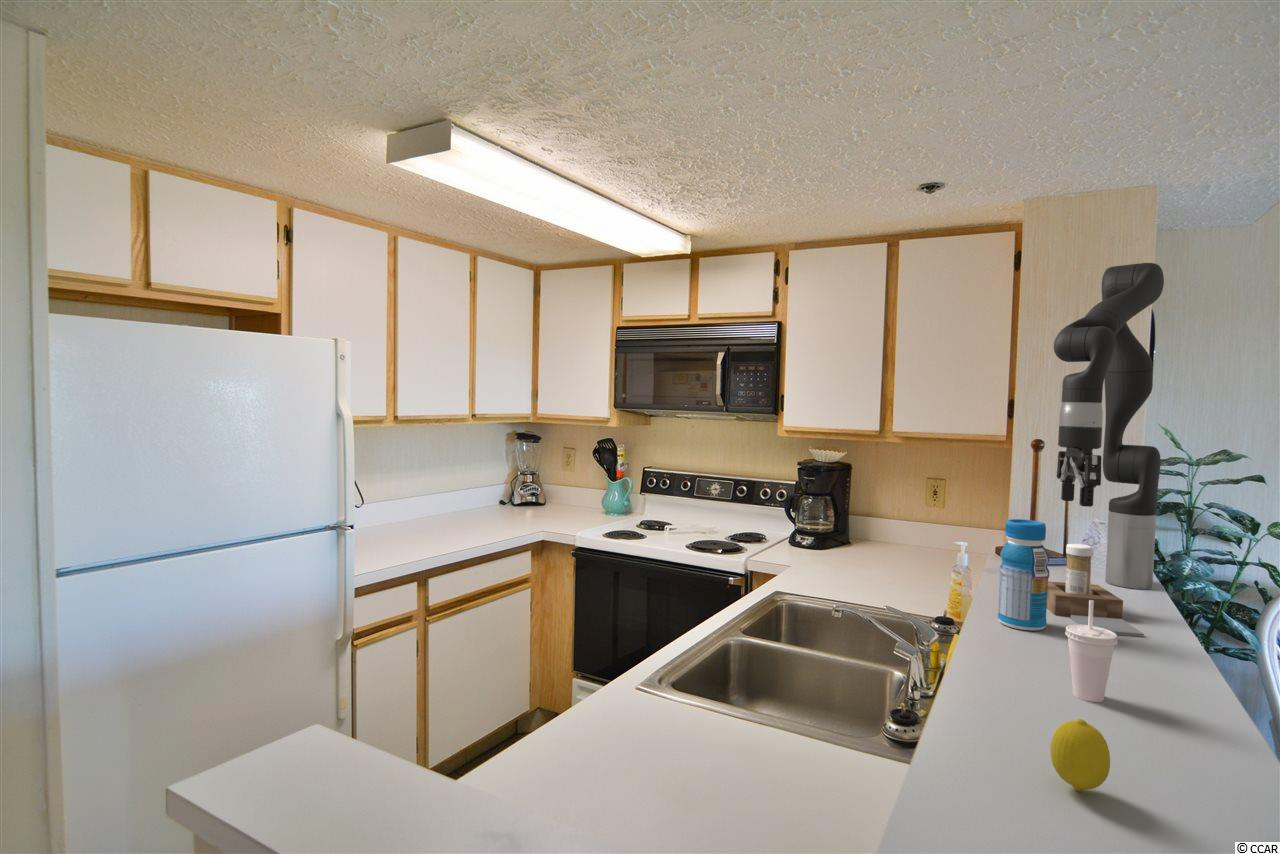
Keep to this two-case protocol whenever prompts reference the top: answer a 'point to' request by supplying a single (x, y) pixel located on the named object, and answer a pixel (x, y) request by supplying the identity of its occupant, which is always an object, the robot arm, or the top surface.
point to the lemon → (1080, 755)
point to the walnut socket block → (1083, 602)
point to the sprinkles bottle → (1078, 569)
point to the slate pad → (1110, 625)
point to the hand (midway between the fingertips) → (1076, 503)
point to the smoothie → (1090, 658)
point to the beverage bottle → (1024, 576)
